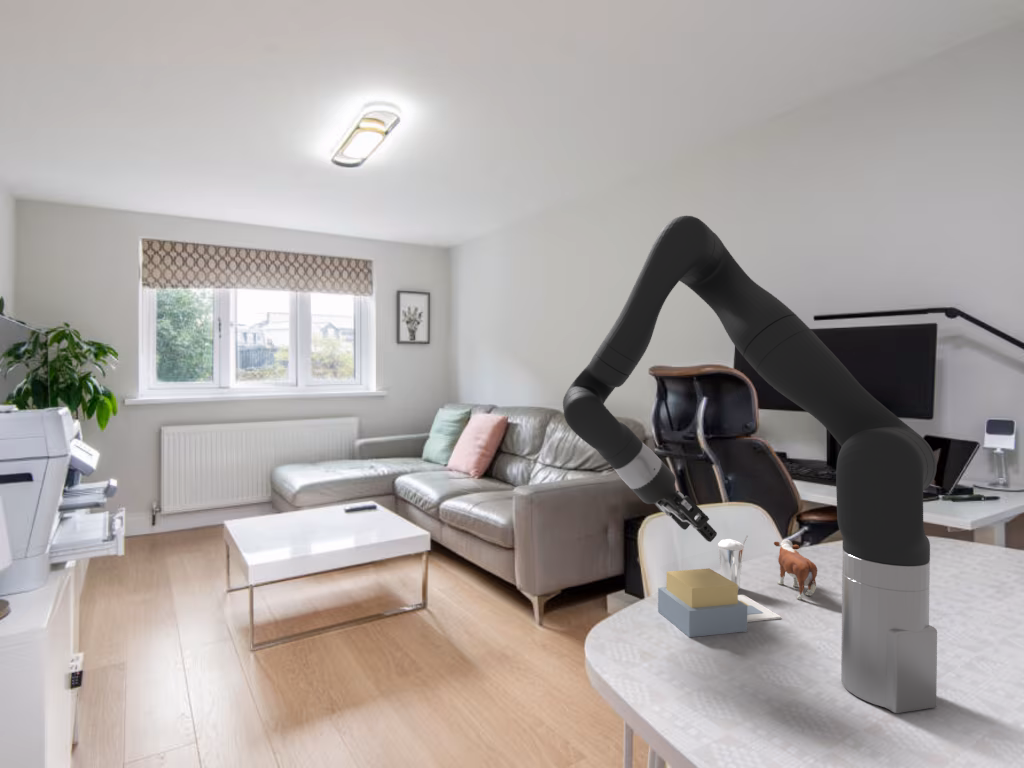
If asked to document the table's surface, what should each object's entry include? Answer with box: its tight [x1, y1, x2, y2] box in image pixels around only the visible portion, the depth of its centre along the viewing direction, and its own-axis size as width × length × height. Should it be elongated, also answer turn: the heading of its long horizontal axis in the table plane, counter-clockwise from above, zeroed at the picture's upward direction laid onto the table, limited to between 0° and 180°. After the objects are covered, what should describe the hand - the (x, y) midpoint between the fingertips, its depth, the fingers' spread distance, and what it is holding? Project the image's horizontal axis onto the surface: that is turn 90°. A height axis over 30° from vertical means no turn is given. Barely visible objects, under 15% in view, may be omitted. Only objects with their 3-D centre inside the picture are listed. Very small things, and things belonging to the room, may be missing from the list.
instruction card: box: [738, 594, 782, 623], centre depth 98 cm, size 10×7×1 cm
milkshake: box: [717, 535, 749, 591], centre depth 108 cm, size 4×5×10 cm
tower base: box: [657, 568, 748, 638], centre depth 93 cm, size 10×10×7 cm
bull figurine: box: [773, 538, 818, 601], centre depth 108 cm, size 4×13×8 cm, turn 174°
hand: (699, 531), depth 106 cm, fingers open, 8 cm apart
